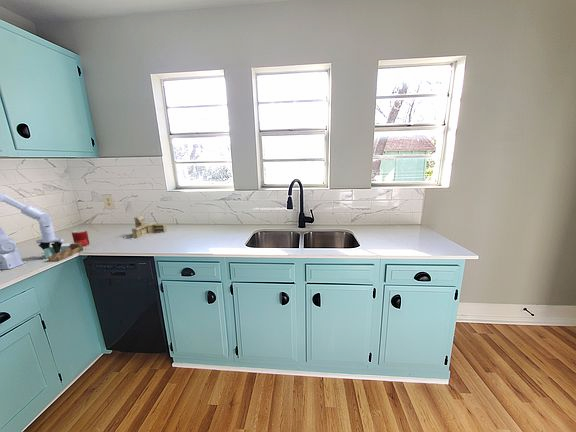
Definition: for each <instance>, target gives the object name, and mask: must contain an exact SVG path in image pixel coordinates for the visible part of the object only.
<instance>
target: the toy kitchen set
mask: <svg viewBox="0 0 576 432" xmlns="http://www.w3.org/2000/svg"><path fill="white" fill-rule="evenodd" d="M142 222H143V223H144V222H146V219H145V218H144V217H143V216H142V215H138V216H134V225H135V227H134V228H131V232H132V238H133V239H138V238H141V237H142V236H146V235H147V234H148V235H149V234H154V233H167V230H168V229H167V224H166V222H155V223H154V222H152V223H151V222H148V223H144V224H142Z"/></svg>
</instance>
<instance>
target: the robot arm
mask: <svg viewBox="0 0 576 432" xmlns="http://www.w3.org/2000/svg"><path fill="white" fill-rule="evenodd" d="M0 202H1V203H5V204H7V205H10V206H12V207H14V208H15V209H16V208H17V210H20V212H21V214H23V215H24V216H27V217H29V218H31V219H33V220H36V221H37V222H38V224H39V231H40V234H41V238H42V239H37V240H35V242H36V244H38V247H39V248H40V249H42V250H43V251H44V249H46V248H49V247H50V246H53V248H54V250H55V253H56V254H57V253H59V252H60V248H61V245H62V244H64V242H65V241H64V238H58V237H56V233H55V229H54V225H53V222H52V221H53V217H51V215H50V214H48V213H46V212H45V211H44V210H40V209H38V208H36V206H35V205H30V204H29V205H27V204H26V205H25V204H23V203H21V202H19V201H18V200H16V199H14V198H12V197H10V196H8V195H6V194H4V193H1V192H0ZM50 243H51V245H50ZM26 263H28V261H23V259H22V256H21V253H20V249H19V247H17V243H16V241H15V240H14V239H13V238H12V237H10V236H8V234H7V233H6V232H5V230H4V229H3V227H2V226H1V225H0V270H11V269H14V268H17V267H19V266H22V265H24V264H26Z"/></svg>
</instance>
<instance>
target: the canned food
mask: <svg viewBox="0 0 576 432" xmlns="http://www.w3.org/2000/svg"><path fill="white" fill-rule="evenodd" d="M71 235H72V240H73V243H82V247H83V248H84V247H87V245H88V246H89V245H90V239H89V234H88V230H87V229H86V228H82V229H80V228H79V229H75V230H73V231H71Z"/></svg>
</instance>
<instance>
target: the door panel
mask: <svg viewBox="0 0 576 432" xmlns="http://www.w3.org/2000/svg"><path fill="white" fill-rule="evenodd" d="M51 246H52V245H51ZM60 252H61V250H60ZM43 253H44V257H45V259H47V260H49V259H48V257H49V256H52V255H54V254H56V253H55V250H54V248H53V246H52V247H49V248H46V249H44V250H43Z"/></svg>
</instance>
